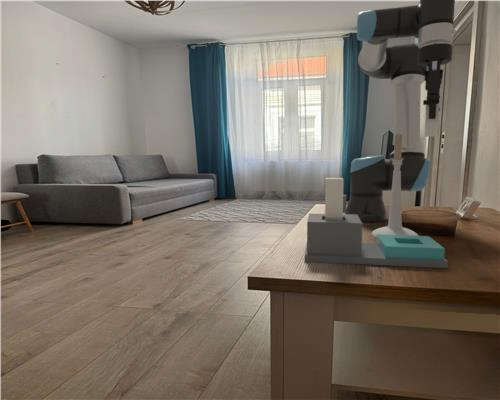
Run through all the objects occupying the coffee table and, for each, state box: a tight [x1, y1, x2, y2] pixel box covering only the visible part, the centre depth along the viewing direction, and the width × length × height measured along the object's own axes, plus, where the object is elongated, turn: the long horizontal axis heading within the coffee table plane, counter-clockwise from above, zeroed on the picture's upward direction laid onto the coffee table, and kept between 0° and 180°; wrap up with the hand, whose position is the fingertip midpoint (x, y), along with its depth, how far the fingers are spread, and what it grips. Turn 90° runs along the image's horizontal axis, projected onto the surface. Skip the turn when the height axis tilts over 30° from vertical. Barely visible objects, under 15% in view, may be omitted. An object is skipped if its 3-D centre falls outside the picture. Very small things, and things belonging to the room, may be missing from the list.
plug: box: [324, 177, 347, 220], centre depth 87 cm, size 5×4×12 cm
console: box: [304, 213, 449, 269], centre depth 86 cm, size 30×14×9 cm, turn 79°
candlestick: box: [371, 133, 419, 239], centre depth 105 cm, size 13×13×30 cm
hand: (430, 135), depth 91 cm, fingers open, 13 cm apart
